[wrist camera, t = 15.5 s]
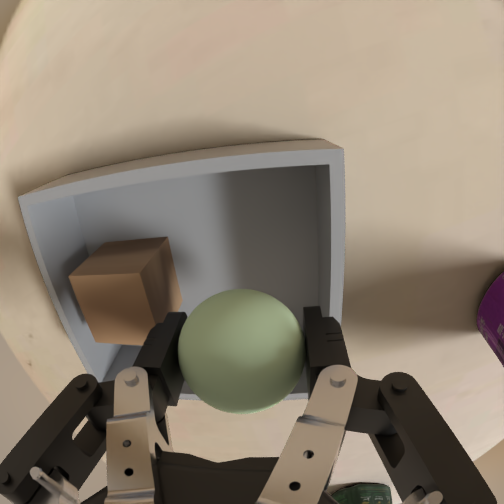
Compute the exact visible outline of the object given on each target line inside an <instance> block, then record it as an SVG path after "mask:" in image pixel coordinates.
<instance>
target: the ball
mask: <svg viewBox="0 0 504 504" xmlns="http://www.w3.org/2000/svg"><path fill="white" fill-rule="evenodd" d="M178 360H179V366H180V369H181V372H182V375H183V377H184V379H185V381H186V383H187V384H188V386H189V387H190V389H191V390H192V391H193V392H194V393H195V394H196V395H197V396H198V397H199V398H200V399H201V400H202V401H204V402H205V403H207V404H208V405H210V406H212V407H214V408H216V409H218V410H221V411H224V412H229V413H235V414H250V413H256V412H260V411H263V410H266V409H268V408H271V407H273V406H274V405H276V404H278V403H279V402H281V401H282V400H283V399H284V398H285V397H286V396H288V394H289V393H290V392H291V391H292V390H293V389H294V387H295V386H296V384H297V383H298V381H299V379H300V377H301V375H302V372H303V369H304V365H305V360H306V343H305V338H304V334H303V331H302V329H301V327H300V324H299V322H298V320H297V319H296V317H295V316H294V315H293V313H292V312H291V311H290V310H289V309H288V308H287V307H286V306H285V305H284V304H283V303H282V302H280V301H279V300H277V299H276V298H274V297H272V296H270V295H268V294H266V293H263V292H260V291H256V290H251V289H232V290H227V291H223V292H220V293H217V294H215V295H213V296H211V297H209V298H207V299H206V300H204V301H203V302H202V303H200V304H199V305H198V306H197V307H196V308H195V309H194V310H193V311H192V313H191V314H190V315H189V316H188V318H187V320H186V322H185V323H184V325H183V327H182V330H181V333H180V337H179V341H178Z"/></svg>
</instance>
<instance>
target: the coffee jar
mask: <svg viewBox="0 0 504 504" xmlns="http://www.w3.org/2000/svg"><path fill="white" fill-rule="evenodd" d="M331 497H332V498H334V499H335V500H336V501H337V502H338V503H339V504H392V497H391V490H390V487H389V486H387V485H381V484H359V485H355V486H352V487H349V488H343V489H341V490H339V491H337V492H335V493H334V494H333V495H332V496H331Z"/></svg>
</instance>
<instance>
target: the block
mask: <svg viewBox="0 0 504 504" xmlns="http://www.w3.org/2000/svg"><path fill="white" fill-rule="evenodd" d="M68 277H69V279H70V282H71V285H72V287H73V290H74V293H75V295H76V298H77V300H78V303H79V305H80V308H81V310H82V313H83V315H84V317H85V320H86V322H87V324H88V326H89V329H90V331H91V333H92V335H93V338H94V340H95V342H97V343H110V344H125V345H143V343H144V341H145V339H146V337H147V335H148V333H149V331H150V330H151V329H152V328H153V327H154V326H155V325H156V324H157V323H163V321H164V319H165V317H166V315H167V313H168V312H178V310H179V308H180V306H181V303H182V301H183V300H182V296H181V292H180V288H179V284H178V279H177V275H176V271H175V267H174V262H173V258H172V253H171V249H170V244H169V239H168V237H157V238H146V239H135V240H124V241H114V242H105V243H104V244H103V245H101V246H100V247H99V248H98V249H97V250H96V251H95V252H94V253H93V254H91V255H90V256H89V257H88V258H87V259H86V260H85V261H84V262H83V263H82V264H81V265H80V266H78V267H77V268H76V269H75V270H74V271H73V272H72V273H71V274H70V275H69V276H68Z"/></svg>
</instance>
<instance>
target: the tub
mask: <svg viewBox="0 0 504 504" xmlns="http://www.w3.org/2000/svg"><path fill="white" fill-rule="evenodd" d="M18 200H19V204H20V208H21V212H22V216H23V219H24V223H25V226H26V230H27V233H28V236H29V239H30V243H31V246H32V249H33V252H34V255H35V258H36V261H37V263H38V266H39V269H40V272H41V274H42V277H43V280H44V282H45V285H46V287H47V290H48V292H49V295H50V297H51V299H52V302H53V304H54V306H55V309H56V311H57V313H58V316H59V318H60V320H61V322H62V324H63V326H64V328H65V331H66V333H67V335H68V337H69V339H70V341H71V343H72V345H73V347H74V349H75V351H76V353H77V354H78V356H79V358H80V360H81V362H82V364H83V366H84V367H85V369H86V371H87V373H88V374H91V375H93V376H95V377H96V379H97V381H98V382H106V381H112V380H115V378H116V376H117V375H118V374H119V373H120V372H121V371H122V370H124V369H126V368H129V367H132V366H133V364H134V362H135V360H136V358H137V356H138V354H139V352H140V350H141V347H142V346H143V345H125V344H110V343H97V342H95V340H94V338H93V335H92V333H91V331H90V329H89V326H88V324H87V322H86V320H85V317H84V315H83V313H82V310H81V308H80V305H79V303H78V300H77V298H76V295H75V293H74V290H73V287H72V285H71V282H70V279H69V277H68V276H69V275H70V274H71V273H72V272H73V271H74V270H75V269H76V268H77V267H78V266H80V265H81V264H82V263H83V262H84V261H85V260H86V259H87V258H88V257H89V256H90V255H91V254H93V253H94V252H95V251H96V250H97V249H98V248H99V247H100V246H101V245H103V244H104V243H105V242H114V241H124V240H135V239H146V238H157V237H168V239H169V244H170V249H171V253H172V258H173V262H174V267H175V271H176V275H177V279H178V284H179V288H180V292H181V296H182V300H183V301H182V303H181V306H180V308H179V310H178V312H186V314H187V317H188V316H189V315H190V314H191V313H192V311H193V310H194V309H195V308H196V307H197V306H198V305H199V304H200V303H202V302H203V301H204V300H206V299H207V298H209V297H211V296H213V295H215V294H217V293H220V292H223V291H227V290H232V289H251V290H256V291H260V292H263V293H266V294H268V295H270V296H272V297H274V298H276V299H277V300H279V301H280V302H282V303H283V304H284V305H285V306H286V307H287V308H288V309H289V310H290V311H291V312H292V313H293V315H294V316H295V317H296V319H297V320H298V322H299V324H300V327H301V329H302V331H303V307H309V306H320V308H321V313H322V317H332V316H333V317H334V318H335V319H336V320H337V321H338V322H339V323H340V327H341V318H342V303H343V285H344V261H345V166H344V149H343V148H341V147H339V146H337V145H335V144H333V143H331V142H329V141H327V140H325V139H309V140H291V141H276V142H263V143H252V144H241V145H232V146H223V147H215V148H207V149H199V150H192V151H185V152H178V153H172V154H166V155H160V156H154V157H148V158H143V159H138V160H132V161H127V162H122V163H117V164H113V165H108V166H103V167H99V168H95V169H90V170H86V171H82V172H78V173H74V174H70V175H66V176H64V177H61V178H59V179H57V180H54V181H52V182H50V183H47V184H45V185H43V186H40V187H38V188H36V189H34V190H32V191H29V192H27V193H25V194H23V195H21V196H19V197H18ZM179 399H185V400H201V399H200V398H199V397H198V396H197V395H196V394H195V393H194V392H193V391H192V390H191V389H190V387H189V386H188V384H187V383H186V381H185V380H184V383H183V386H182V390H181V393H180V396H179ZM297 399H308V390H307V378H306V367H305V365H304V369H303V372H302V375H301V377H300V379H299V381H298V383H297V384H296V386H295V387H294V389H293V390H292V391H291V392H290V393H289V394H288V396H286V397H285V398H284V399H283V400H297Z"/></svg>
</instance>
